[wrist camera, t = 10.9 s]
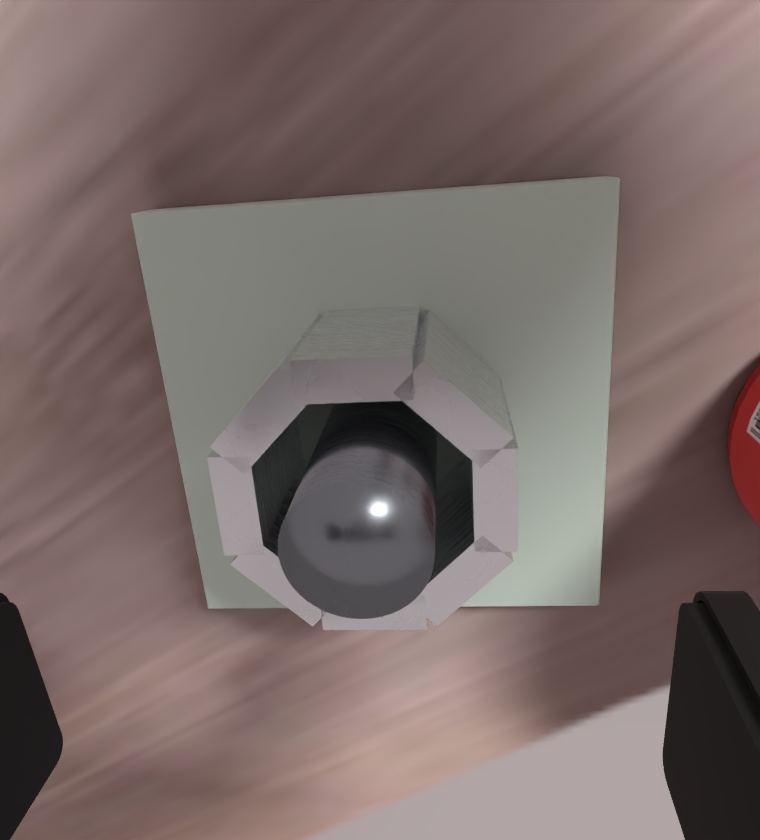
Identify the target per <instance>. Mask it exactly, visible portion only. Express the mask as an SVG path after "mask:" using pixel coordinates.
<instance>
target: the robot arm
mask: <svg viewBox="0 0 760 840" xmlns="http://www.w3.org/2000/svg"><path fill="white" fill-rule="evenodd" d="M62 746H63V738H62V734H61V731H60V728H59V725H58V722H57V719H56V716H55V713H54V711H53V708H52V705H51V702H50V699H49V696H48V693H47V691H46V688H45V685H44V682H43V679H42V676H41V673H40V670H39V668H38V665H37V662H36V659H35V656H34V653H33V650H32V648H31V645H30V642H29V639H28V636H27V633H26V630H25V627H24V625H23V622H22V619H21V616H20V613H19V610H18V608H17V607H16V605H15V604H13V603H11V602H9V600H8V598H7V597H6V596H5V595H4V594H3V593H0V840H10V838H11V837H12V835H13V834H14V832H15V830H16V829H17V827H18V826H19V824H20V822H21V821H22V819H23V817H24V816H25V814H26V813H27V811H28V809H29V808H30V806H31V805H32V803H33V801H34V800H35V798H36V797H37V795H38V793H39V792H40V790H41V789H42V787H43V785H44V784H45V782H46V781H47V779H48V777H49V776H50V774H51V772H52V771H53V769H54V768H55V766H56V764H57V762H58V760H59V758H60V755H61V752H62ZM663 766H664V773H665V778H666V781H667V785H668V788H669V791H670V794H671V797H672V800H673V803H674V806H675V809H676V813H677V816H678V819H679V822H680V825H681V828H682V831H683V834H684V837H685V840H760V611H759V610H758V608H757V606H756V605H755V603H754V602H753V600H752V598H751V597H750V596H749V595H748V594H747V593H745V592H743V591H700V592H697V593H696V595H695V597H694V601H693V603H682V604H681V606H680V610H679V616H678V625H677V633H676V642H675V651H674V659H673V668H672V677H671V685H670V694H669V703H668V712H667V720H666V728H665V738H664V746H663Z"/></svg>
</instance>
